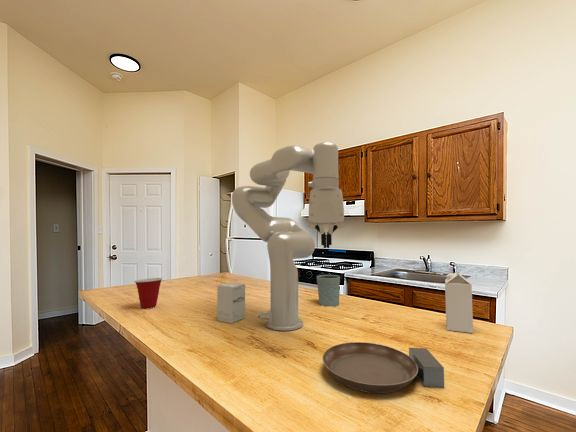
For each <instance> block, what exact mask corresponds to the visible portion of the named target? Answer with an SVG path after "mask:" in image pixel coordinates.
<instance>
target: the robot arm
mask: <svg viewBox="0 0 576 432" xmlns="http://www.w3.org/2000/svg"><path fill="white" fill-rule="evenodd" d="M290 171H294V172H300V173H301V172H302V173H306V174H311V175H312V181H308V183H307V184H308V185H307V186H308V187H310V188H312V189H311V190H310V191H309V197H308V199H309V200H308V224H307V227H308V228H310V229H315V230H316V231H317V232H319V234H320V241H321V244H320V246H323V249H326V248H327V249H330V246H332V243H333V242H332V236H333V235H332V234H333V233H334V232H336V230H337V229H342V228H345V225H346V224H345V222H344V221H345V207H344V195H343V191H342V189H341V188H340V187H339V182H340V181H339V147H338V145H337V144H336V143H334V142H330V141H329V142H327V141H326V142H319V143H316V144H315V145H314V146H313V148H308V147H303V146H300V145H299V146H298V145H288V146H285V147H282V148H280V149H277V150H276V151H274V153H273V155H272V157H271V158H269V159H267V160H263V161H261V162H258V163H256V164H255V165H253V166H251V168H250V171H249V177H250V180H251V181H252V182H253V183H254V184H256V185H259V186H254V185H253V186H252V185H251V186H250V185H241V186H239V187H236V188H235V189H234V190H233V192H232V194H231V203H232V207H233V210H234V212H235V213H236V215H237V217H239V218H240V220H242V221H243V222H244V223H245V224H246V225H247V226H248V227H249V228H250V229H251V230H252V231H253V232H254V234H256V236H257V237H259V239H260V240H261V241H263V242H265V243H267V245H266V248H267V255H268V258H269V270H270V272H269V273H270V277H269V278H270V280H269V281H270V294H269V295H270V297H269V298H270V300H269V301H270V310H267V311H266V312H265V311H258V313H257V318H259V319H260V320H266V321H265V325H266V328H268V329H270V330H274V331H284V332H286V331H294V330H299V329H301V328H302V327H303V326H304V320H302V319H301V318H299V272H298V271H299V270H298V268H297V266H296V264H295V262H294V260H296V259H306V258H309V257H311V256H312V255H313V253H314V251H315V248H316V244H315V240H314V238H313V236H312V235H311V233H310V232H309V231H307V230H306V229H305V228H304V227H302V226H301V225H300V224H299V222H297V221H295V220H294V219H292V218H289V217H279V216H271V215H270V214H269V213H268V212H266V211H265V210H264V209H265V208H270V207H272V206H273V205H274V203H275V202H276V200H277V199H278V197H279V194H280V193H281V191H282V190H283V188H284V186H285V184H286V181H287V178H288V177H289V175H290ZM260 186H261V187H260ZM262 186H264V187H262ZM325 224H328V229H327V233H326V231H325V228H324V225H325Z"/></svg>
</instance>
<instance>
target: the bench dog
mask: <svg viewBox="0 0 576 432" xmlns="http://www.w3.org/2000/svg"><path fill="white" fill-rule="evenodd" d="M408 356H410V357H411V358H412V359H413V360H414V361H415V362H416V364H417V366H418V373H417V375H416V377H417V379H418V380H419V381H420V383H421V384H422V386H423V387H424V386H425V387H426V388H429V387H430V388H445V370H444V369H445V367H444V366H443V365H442V364H441V362H439V361H438V359H436V357H435V356H434V355H433V354H432V353H431V352H430V351H429V350H428V349H427V347H426V348H425V347H408ZM431 386H432V387H431Z"/></svg>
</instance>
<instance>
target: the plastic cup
mask: <svg viewBox="0 0 576 432" xmlns="http://www.w3.org/2000/svg"><path fill="white" fill-rule="evenodd" d="M162 280H163V277H154V278H153V277H151V278H150V277H149V278H141V279H137V280H134V283H135V284H136V285H135V286H136V289H137V292H138V293H137V295H138V299H139V303H140V308H141V309H142V308H144V310H148V309H147V308H150V309H153V307H154V308H156V307H157V302H158V299H159V298H158V297H159V292H160V287H161V284H162ZM155 306H156V307H155Z"/></svg>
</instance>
